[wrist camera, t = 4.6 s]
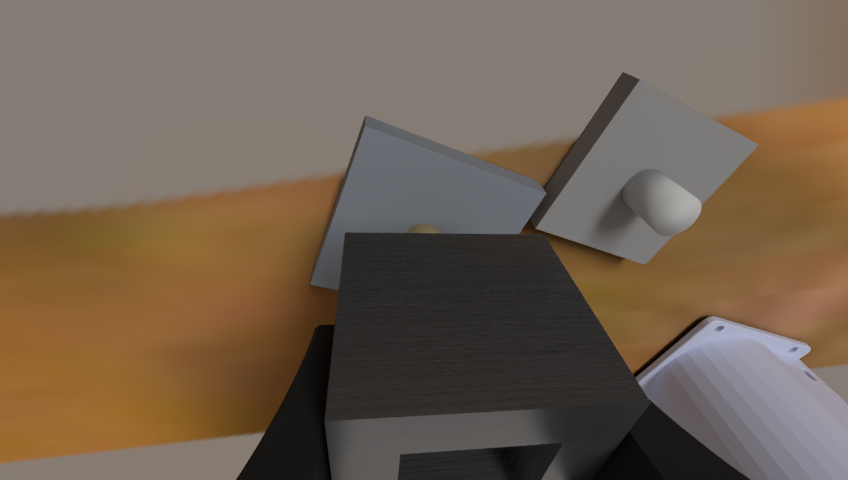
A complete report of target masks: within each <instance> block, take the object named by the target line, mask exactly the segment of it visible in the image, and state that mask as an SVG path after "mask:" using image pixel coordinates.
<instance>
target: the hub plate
mask: <svg viewBox="0 0 848 480" xmlns="http://www.w3.org/2000/svg"><path fill="white" fill-rule="evenodd" d="M545 195H546V192H545V191H544V189H543V188H542V187H541V185H540V184H539V183H538V181H536V180H534V179H531V178H528V177H526V176H523V175H520V174H518V173H515V172H513V171H510V170H507V169H505V168H502V167H500V166H497V165H494V164H492V163H489V162H486V161H484V160H481V159H479V158H476V157H473V156H471V155H468V154H465V153H463V152H460V151H458V150H455V149H452V148H450V147H447V146H444V145H442V144H439V143H436V142H434V141H431V140H429V139H426V138H424V137H421V136H418V135H415V134H413V133H410V132H408V131H405V130H403V129H400V128H397V127H395V126H392V125H389V124H386V123H384V122H382V121H379V120H376V119H374V118H371V117H368V116H365V118H364V121H363V124H362V127H361V130H360V133H359V136H358V139H357V142H356V144H355V148H354V150H353V153H352V156H351V159H350V162H349V165H348V168H347V171H346V174H345V177H344V180H343V183H342V185H341V188H340V191H339V194H338V197H337V200H336V203H335V206H334V209H333V212H332V215H331V218H330V221H329V223H328V226H327V229H326V232H325V235H324V238H323V241H322V244H321V247H320V250H319V253H318V256H317V259H316V261H315V264H314V267H313V272H312V277H311V282H310V285H315V286H319V287H324V288H328V289H333V290H337V291H339V283H340V274H341V264H342V255H343V246H344V237H345V232H351V233H450V234H519V233H520V232H521V230H522V229H523V227H524V226H525V224H526V223H527V221H528V220H529V218H530V217H531V216H532V214H533V213H534V211H535V210H536V208H537V207H538V205H539V204H540V202H541V201H542V199H543V198H544V196H545Z"/></svg>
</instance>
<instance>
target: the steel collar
mask: <svg viewBox="0 0 848 480" xmlns="http://www.w3.org/2000/svg"><path fill="white" fill-rule="evenodd" d="M650 403H651V402H650V400H649V399H648V397H647V396H646V394H645V393H644V391H643V389H642V388H641V386H640V385H639V383H638V382H637V380H636V378H635V377H634V375H633V374H632V372H631V371H630V369H629V367H628V366H627V364H626V363H625V361H624V360H623V358H622V356H621V355H620V353H619V352H618V350H617V349H616V347H615V345H614V344H613V342H612V341H611V339H610V338H609V336H608V334H607V333H606V331H605V330H604V328H603V327H602V325H601V323H600V322H599V320H598V319H597V317H596V316H595V314H594V312H593V311H592V309H591V308H590V306H589V305H588V303H587V301H586V300H585V298H584V297H583V295H582V294H581V292H580V290H579V289H578V287H577V286H576V284H575V283H574V281H573V279H572V278H571V276H570V275H569V273H568V272H567V270H566V268H565V267H564V265H563V264H562V262H561V261H560V259H559V257H558V256H557V254H556V253H555V251H554V250H553V248H552V246H551V245H550V243H549V242H548V240H547V239H546V237H545V235H544V234H450V233H351V232H345V237H344V246H343V255H342V264H341V274H340V283H339V292H338V301H337V310H336V320H335V329H334V338H333V347H332V356H331V366H330V375H329V384H328V393H327V402H326V411H325V421H324V422H325V430H326V438H327V446H328V454H329V462H330V470H331V478H332V480H592V478H593V477H594V476H595V475H596V473H597V472H598V471H599V469H600V468H601V467H602V466H603V464H604V463H605V462H606V460H607V459H608V458H609V456H610V455H611V454H612V453H613V451H614V450H615V449H616V447H617V446H618V445H619V443H620V442H621V441H622V440H623V438H624V437H625V436H626V434H627V433H628V432H629V431H630V429H631V428H632V427H633V425H634V424H635V423H636V421H637V420H638V419H639V418H640V416H641V415H642V414H643V412H644V411H645V410H646V408H647V407H648V406H649V405H650Z"/></svg>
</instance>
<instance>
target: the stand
mask: <svg viewBox="0 0 848 480" xmlns="http://www.w3.org/2000/svg"><path fill="white" fill-rule="evenodd" d="M758 145H759V144H757V143H755V142H753V141H751V140H749V139H748V138H746V137H744V136H742V135H740V134H738V133H737V132H735V131H733V130H731V129H729V128H727V127H726V126H724V125H722V124H720V123H718V122H717V121H715V120H713V119H711V118H709V117H707V116H706V115H704V114H702V113H700V112H698V111H696V110H695V109H693V108H691V107H689V106H687V105H685V104H684V103H682V102H680V101H678V100H676V99H674V98H672V97H671V96H669V95H667V94H665V93H663V92H662V91H660V90H658V89H656V88H654V87H653V86H651V85H649V84H647V83H645V82H643V81H642V80H639V79H637V78H635V77H633V76H630V75H628V74H626V73H622V74H621V76H620V77H619V79H618V80H617V82H616V83H615V85H614V86H613V88H612V89H611V91H610V92H609V94H608V95H607V97H606V98H605V100H604V101H603V103H602V104H601V106H600V107H599V109H598V110H597V112H596V113H595V114H594V116H593V117H592V119H591V120H590V122H589V124H588V125H587V126H586V128H585V129H584V131H583V132H582V134H581V135H580V137H579V138H578V140H577V141H576V143H575V144H574V146H573V147H572V149H571V150H570V152H569V153H568V155H567V156H566V158H565V159H564V161H563V162H562V164H561V165H560V167H559V168H558V170H557V171H556V173H555V174H554V175H553V177H552V178H551V180H550V181H549V183H548V184H547V186H546V187H545V189H544V191H545V192H546V195H545V196H544V198H543V199H542V201H541V202H540V204H539V205H538V207H537V208H536V210H535V211H534V213H533V214H532V216H531V217H530V218H529V219H530V221H531V222H532V224H533V225H534V227H535V229H538V230H541V231H544V232H547V233H550V234H553V235H556V236H559V237H562V238H565V239H568V240H572V241H575V242H578V243H581V244H584V245H587V246H590V247H593V248H596V249H599V250H602V251H605V252H608V253H611V254H614V255H617V256H620V257H623V258H626V259H629V260H632V261H635V262H638V263H641V264H644V265H645V264H646V263H647V262H648V261H649V260H650V259H651V258H652V257H653V256H654V255H655V254H656V253H657V252H658V251H659V250H660V249H661V247H662V246H663V245H664V244H665V243H666V242H667V241H668V240H669V239H670V238H671V237H672V236H673V235H675V234H678V233H680V232H682V231H684V230H686V229H687V228H688V227H690V226H691V225H692V224H693V223H694V222H695V221H696V219H697V218H698V216H699V214H700V212H701V205H702V204H703V203H704V202H705V201H706V200H707V199H708V198H709V197H710V196H711V195H712V194H713V193H714V192H715V191H716V190H717V189H718V188H719V186H720V185H721V184H722V183H723V182H724V181H725V180H726V179H727V178H728V177H729V176H730V175H731V174H732V173H733V172H734V171H735V170H736V169H737V168H738V166H739V165H740V164H741V163H742V162H743V161H744V160H745V159H746V158H747V157H748V156H749V155H750V154H751V153H752V152H753V151H754V150H755V149H756V148H757V146H758Z"/></svg>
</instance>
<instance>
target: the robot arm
mask: <svg viewBox="0 0 848 480" xmlns="http://www.w3.org/2000/svg"><path fill="white" fill-rule="evenodd" d="M334 329H335V325H319V326H318V327H317V328H315V331H314V334H313V337H312V339H311V342H310V345H309V347H308V350H307V352H306V354H305V357H304V359H303V361H302V363H301V366H300V368H299V370H298V372H297V374H296V376H295V378H294V380H293V382H292V384H291V386H290V388H289V390H288V392H287V394H286V396H285V398H284V400H283V402H282V404H281V406H280V408H279V409H278V411H277V413H276V415H275V416H274V418H273V420H272V422H271V423H270V425H269V427H268V429H267V430H266V432H265V434H264V436H263V437H262V439H261V441H260V443H259V444H258V446H257V448H256V449H255V451H254V453H253V454H252V456H251V457H250V459H249V461H248V462H247V464H246V465H245V467H244V468H243V470H242V471H241V473H240V475H239V476H238V478H237V479H236V480H332V478H331V470H330V462H329V454H328V446H327V438H326V430H325V422H324V421H325V411H326V402H327V393H328V384H329V375H330V366H331V356H332V347H333V338H334ZM810 349H811V348H810V347H809V346H808V345H807V344H806V343H803V342H800V341H797V340H793V339H790V338H786V337H783V336H780V335H776V334H773V333H769V332H766V331H763V330H759V329H756V328H752V327H749V326H746V325H742V324H739V323H735V322H732V321H729V320H725V319H722V318H718V317H713V316H712V317H708V318H706V319H704V320H703V321H701V322H700V323H699V324H698V325H697V326H696V327H694V328H693V329H692V330H691V331H690V332H688V333H687V334H686V335H685V336H684V337H683V338H681V339H680V340H679V341H678V342H677V343H676V344H674V345H673V346H672V347H671V348H670V349H668V350H667V351H666V352H665V353H664V354H663V355H661V356H660V357H659V358H658V359H657V360H656V361H654V362H653V363H652V364H651V365H650V366H648V367H647V368H646V369H645V370H644V371H643V372H641V373H640V374H639V375H638V376H637V377H636V380H637V382H638V383H639V385H640V386H641V388H642V389H643V391H644V393H645V394H646V396H647V397H648V399H649V400H650V402H651V403H650V405H649V406H648V407H647V408H646V410H645V411H644V412H643V414H642V415H641V416H640V418H639V419H638V420H637V421H636V423H635V424H634V425H633V427H632V428H631V429H630V431H629V432H628V433H627V434H626V436H625V437H624V438H623V440H622V441H621V442H620V443H619V445H618V446H617V447H616V449H615V450H614V451H613V453H612V454H611V455H610V456H609V458H608V459H607V460H606V462H605V463H604V464H603V466H602V467H601V468H600V469H599V471H598V472H597V473H596V475H595V476H594V477H593V478H592V480H848V404H847V403H846V402H845V401H843V400H842V399H841V398H840V397H839V396H838V395H837V394H836V393H835V392H834V391H833V390H832V389H830V388H829V387H828V386H827V385H826V384H825V383H824V382H823V381H822V380H821V379H820V378H819V377H817V376H816V375H815V374H814V373H813V372H812V371H811V370H810V369H809V368H808V367H807V366H806V365H805V364H803V363H802V362H801V361H800V360H799V359H800V358H801V357H803V356H804V355H806V354H807V353H808V352H809V351H810ZM657 406H658V407H657Z"/></svg>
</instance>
